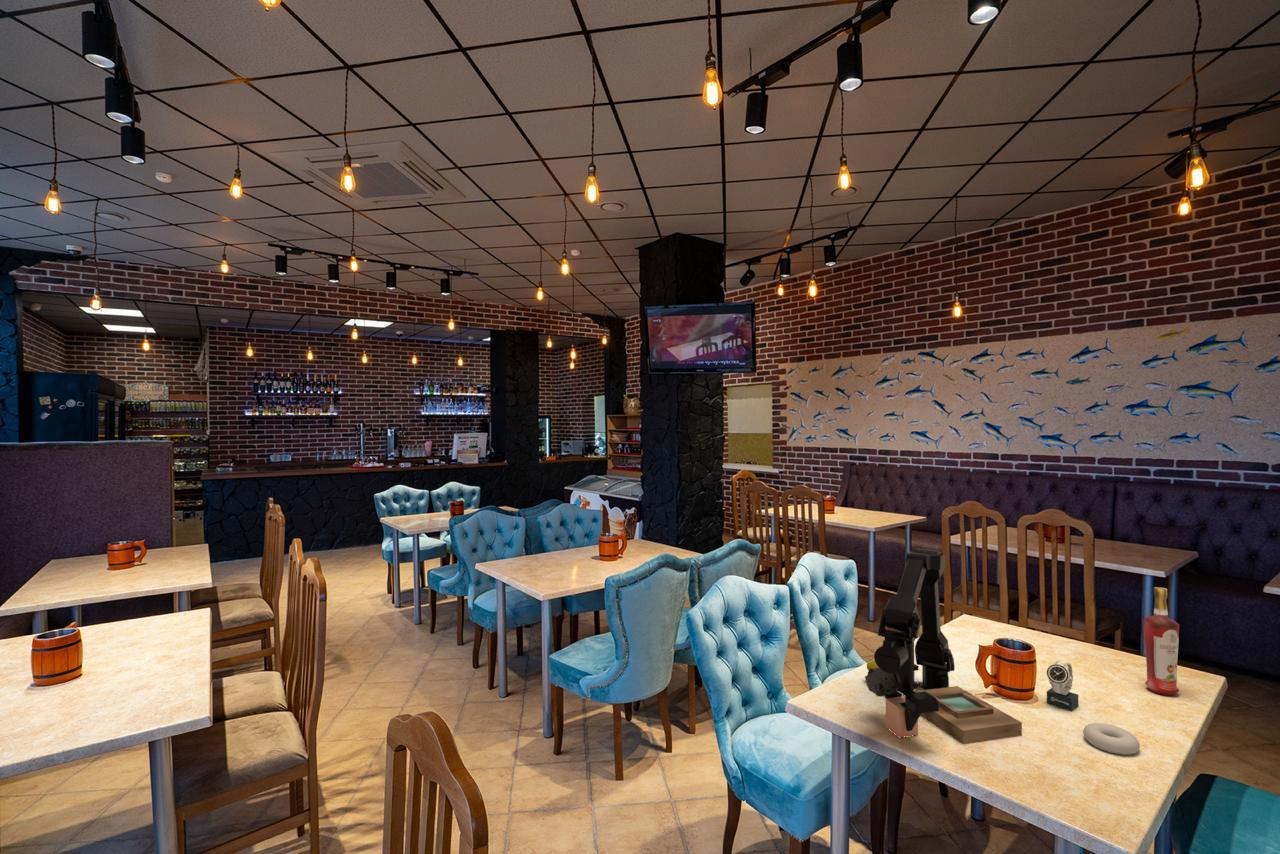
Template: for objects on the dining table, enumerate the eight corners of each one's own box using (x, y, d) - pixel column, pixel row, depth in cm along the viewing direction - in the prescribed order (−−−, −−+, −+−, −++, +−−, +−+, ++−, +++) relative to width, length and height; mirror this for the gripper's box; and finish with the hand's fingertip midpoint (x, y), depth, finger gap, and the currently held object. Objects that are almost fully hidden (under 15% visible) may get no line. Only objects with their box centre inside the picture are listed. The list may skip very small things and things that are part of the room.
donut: (1072, 738, 135) (1117, 761, 126) (1071, 723, 136) (1117, 744, 126) (1104, 732, 138) (1151, 754, 128) (1104, 717, 138) (1151, 738, 128)
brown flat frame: (905, 703, 152) (905, 687, 152) (957, 697, 156) (957, 681, 156) (963, 743, 133) (963, 725, 133) (1021, 735, 136) (1021, 717, 136)
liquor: (1165, 686, 162) (1164, 585, 162) (1187, 698, 154) (1186, 592, 154) (1137, 685, 162) (1135, 584, 162) (1157, 697, 155) (1156, 591, 155)
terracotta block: (885, 727, 140) (885, 698, 140) (904, 725, 141) (903, 696, 141) (899, 738, 135) (899, 708, 135) (918, 735, 136) (917, 705, 136)
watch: (1043, 705, 151) (1043, 662, 151) (1056, 697, 156) (1056, 655, 156) (1069, 713, 146) (1068, 669, 146) (1081, 705, 151) (1081, 662, 151)
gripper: (848, 647, 146) (848, 710, 146) (896, 678, 128) (897, 750, 127) (887, 644, 148) (888, 705, 148) (940, 673, 130) (941, 743, 130)
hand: (901, 724), depth 138 cm, fingers closed on terracotta block, 5 cm apart
